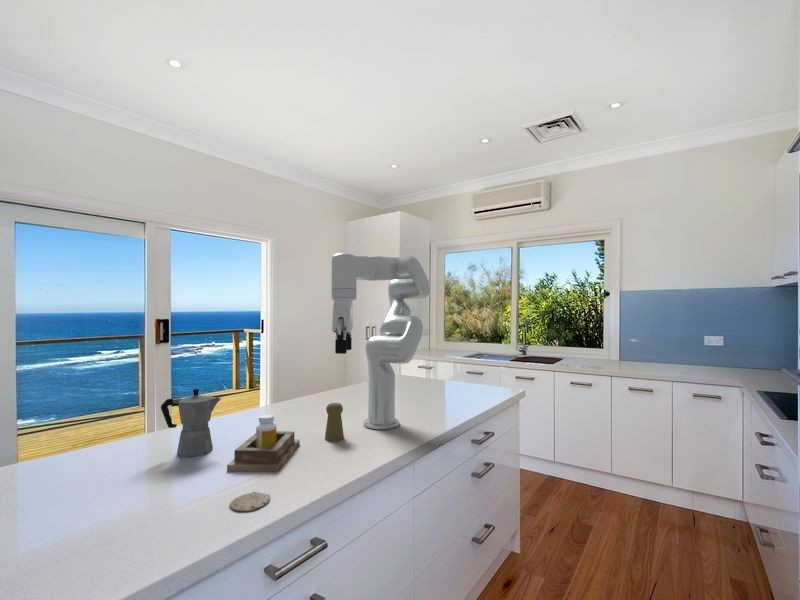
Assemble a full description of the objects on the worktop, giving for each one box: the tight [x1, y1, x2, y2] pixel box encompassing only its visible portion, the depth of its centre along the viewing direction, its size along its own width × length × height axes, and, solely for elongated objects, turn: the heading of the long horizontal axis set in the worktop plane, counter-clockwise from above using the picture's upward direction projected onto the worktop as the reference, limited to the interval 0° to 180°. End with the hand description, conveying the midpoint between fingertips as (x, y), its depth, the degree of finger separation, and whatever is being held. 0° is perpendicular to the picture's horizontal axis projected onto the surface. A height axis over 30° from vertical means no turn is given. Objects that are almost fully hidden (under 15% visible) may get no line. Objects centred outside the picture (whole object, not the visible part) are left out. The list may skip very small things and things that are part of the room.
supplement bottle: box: [255, 413, 277, 448], centre depth 111 cm, size 5×5×10 cm
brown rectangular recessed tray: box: [226, 430, 301, 473], centre depth 111 cm, size 20×13×4 cm, turn 179°
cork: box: [324, 402, 345, 442], centre depth 126 cm, size 6×6×11 cm
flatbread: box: [229, 491, 271, 512], centre depth 84 cm, size 8×8×1 cm
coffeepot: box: [160, 388, 222, 458], centre depth 114 cm, size 15×9×18 cm, turn 110°
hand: (343, 351), depth 120 cm, fingers open, 9 cm apart
